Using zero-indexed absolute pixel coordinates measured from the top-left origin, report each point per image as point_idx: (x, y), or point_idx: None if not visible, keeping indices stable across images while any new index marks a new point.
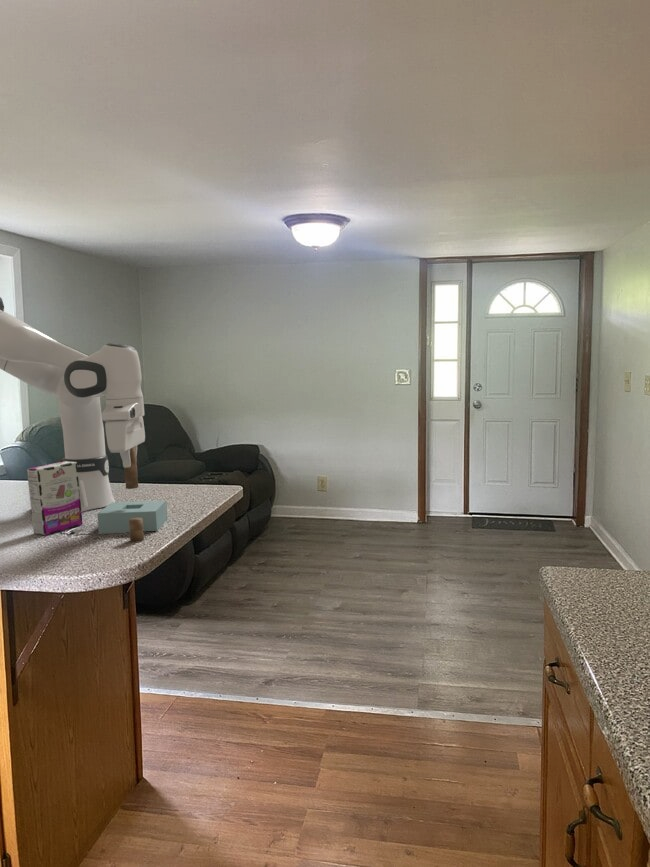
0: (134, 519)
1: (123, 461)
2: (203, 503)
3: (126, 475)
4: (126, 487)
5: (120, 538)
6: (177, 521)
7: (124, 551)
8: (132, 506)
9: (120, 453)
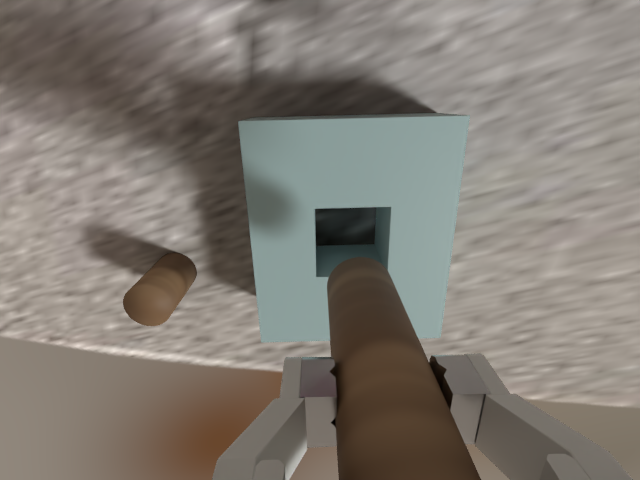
0: (141, 303)
1: (281, 396)
2: (606, 358)
3: (337, 312)
4: (338, 267)
5: (195, 214)
6: None
7: (62, 266)
8: (388, 227)
9: (218, 472)
